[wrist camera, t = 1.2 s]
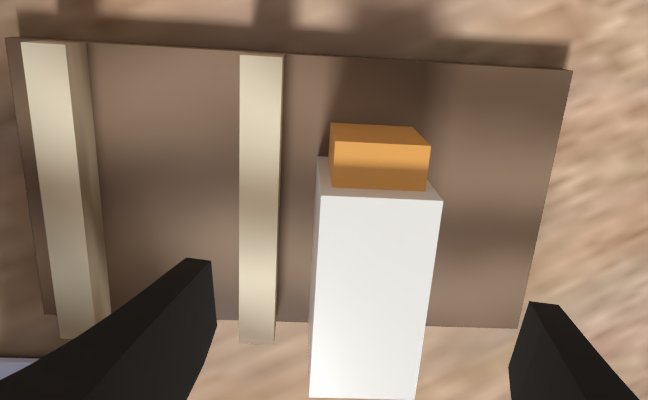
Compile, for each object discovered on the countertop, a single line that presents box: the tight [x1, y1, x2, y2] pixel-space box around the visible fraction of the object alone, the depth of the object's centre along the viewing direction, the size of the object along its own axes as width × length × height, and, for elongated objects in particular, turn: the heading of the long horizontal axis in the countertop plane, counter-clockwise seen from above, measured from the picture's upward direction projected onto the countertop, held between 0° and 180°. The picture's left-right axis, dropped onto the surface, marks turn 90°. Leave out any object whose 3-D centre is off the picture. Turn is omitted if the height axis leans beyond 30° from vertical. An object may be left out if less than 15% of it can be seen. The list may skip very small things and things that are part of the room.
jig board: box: [5, 37, 573, 345], centre depth 21 cm, size 12×22×3 cm, turn 87°
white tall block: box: [308, 123, 443, 400], centre depth 20 cm, size 10×4×5 cm, turn 177°
